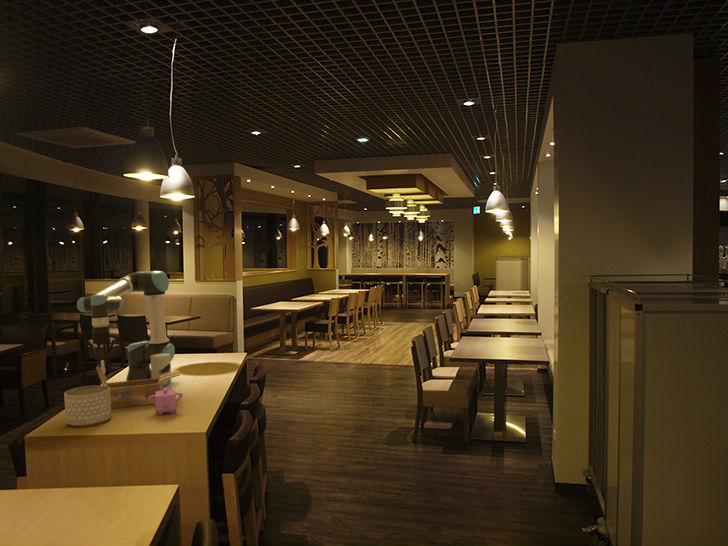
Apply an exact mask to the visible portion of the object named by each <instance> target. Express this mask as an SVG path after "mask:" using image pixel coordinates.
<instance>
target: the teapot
mask: <svg viewBox="0 0 728 546" xmlns="http://www.w3.org/2000/svg"><path fill="white" fill-rule="evenodd" d="M176 395H178V397H176ZM183 396H184V395H183V393H182V392H176V389H172V390H168V389H167V388H165V389H164V390H163V391H156V395H152V396H150V397H148V400H149V401H150V402H151V403H153V404H152V405H155V414H157V416H162V415H163V414H164V413H165V414H166V413H169V414H170V415H174V414H175V412H176V411H177V403H178V402H179V401H180V400H181V399H182V398H183ZM153 397H155V402H154V401H153V400H152V398H153Z"/></svg>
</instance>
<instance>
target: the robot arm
mask: <svg viewBox="0 0 728 546" xmlns="http://www.w3.org/2000/svg"><path fill="white" fill-rule="evenodd" d="M169 286H170V283H169V278H168V276H167V274H166V272H164V271H161V270H148V271H143V270H141V271H136V272H132V273H129V274H127V275H124V276H122V277H121V278H119V279H118V280H117V282H115V283H112V284H111V285H109V286H108V287H106V288H103V289H102V290H100V291H98V292H96V293H94V294H91V295H90V296H87V297H86V296H84V297H80V298H78V300H77V302H76V307H77V310H78V311H79V312H81V313H82V312H83V313H91V326H92V336H91V339H89V340H88V341H87V344H88V346H89V349H90V350H91V351H90V352H91V354H92V357H93V359H94V360H95V361H97V362H98V364H99V367H101V373H102V374H106V367H108V360H109V359H111V357H112V352H113V349H114V343H116V338H113V337H111V334H110V326H109V325H110V320H109V318H110V317H109V313H113V312H118V311H121V310H122V309H123V308H124V306H125V301H124V299H123V298H122V297H121V296H124V295H128V294H131V293H136V292H137V293H138V292H139V293H140V292H142V293H143V296H144V297H145V298H146V302H147V311H148V313H147V314H148V323H149V332H150V339H149V341H148V340H143V341H138V342H133V343H130V344H128V346H127V360H128V361H127V362H128V372H127V375H126V379H125V381H133V380H144V379H152V376H151V357H150V356H151V355H155V354H163V353H166V354H170V363H171V362H172V360H173V359H174V357H175V346H174V344H173V343H171V341H170V338H169V337H167V328H166V317H165V316H166V315H165V306H164V296H165V295H166V291H167V290H169ZM108 342H110V343H109V344H110V345H109V348H108V349H109V350H108V351H107V344H108ZM94 343H95V344H96V347H97V352H96V350H95V346H94ZM101 346H102V347H101ZM102 349H103V353H102ZM102 354H103V359H102Z"/></svg>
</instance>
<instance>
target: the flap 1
mask: <svg viewBox="0 0 728 546" xmlns="http://www.w3.org/2000/svg"><path fill="white" fill-rule="evenodd" d="M95 370H96V372H97V375H98V377H99V380H100V382H101V385H103V386H105V385H106V383H108V380H107V378H106V375H105V374H106V373H105V374H102V373H101V367H99V363H98V364H97V365H96V367H95Z"/></svg>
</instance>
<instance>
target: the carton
mask: <svg viewBox="0 0 728 546" xmlns="http://www.w3.org/2000/svg"><path fill="white" fill-rule="evenodd" d="M159 380H160V378H154V379H144V380H133V381H126V380H123V381H115V382H106V384H105V386H109V387H110V397H111V410H113V409H114V410H115V409H123V408H133V407H142V406H149V405H150V406H152V405H154V404H153V403H151V402H150V401H149V400H148V397H150V396H152V395H156V391H161V382H159ZM152 400H153V401H154V402H155V397H153V398H152Z"/></svg>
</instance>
